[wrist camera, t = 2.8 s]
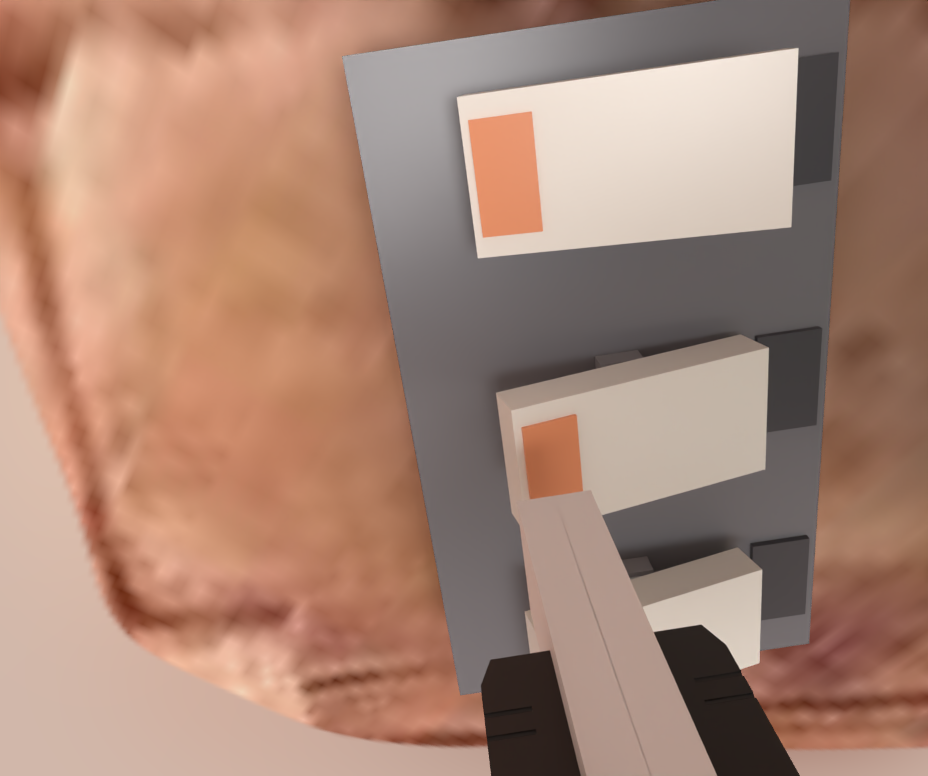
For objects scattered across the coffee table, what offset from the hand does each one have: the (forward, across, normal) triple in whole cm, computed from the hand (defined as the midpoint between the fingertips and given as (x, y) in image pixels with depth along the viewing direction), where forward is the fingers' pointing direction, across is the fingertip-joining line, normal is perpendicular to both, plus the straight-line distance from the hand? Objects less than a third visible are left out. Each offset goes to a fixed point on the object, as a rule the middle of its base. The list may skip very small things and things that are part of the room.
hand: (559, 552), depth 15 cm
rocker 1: (+5, -3, -7) cm, 9 cm away
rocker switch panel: (+10, -3, 0) cm, 11 cm away
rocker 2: (+5, -3, 0) cm, 5 cm away
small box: (+5, -3, +7) cm, 9 cm away
